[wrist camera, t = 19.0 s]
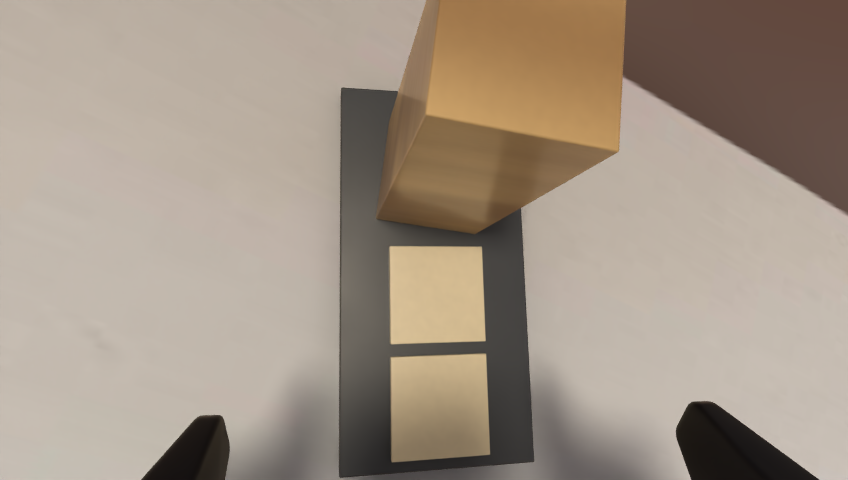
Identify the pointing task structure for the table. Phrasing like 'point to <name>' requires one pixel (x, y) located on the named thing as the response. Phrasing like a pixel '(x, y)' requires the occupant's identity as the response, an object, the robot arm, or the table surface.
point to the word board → (424, 326)
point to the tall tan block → (501, 108)
